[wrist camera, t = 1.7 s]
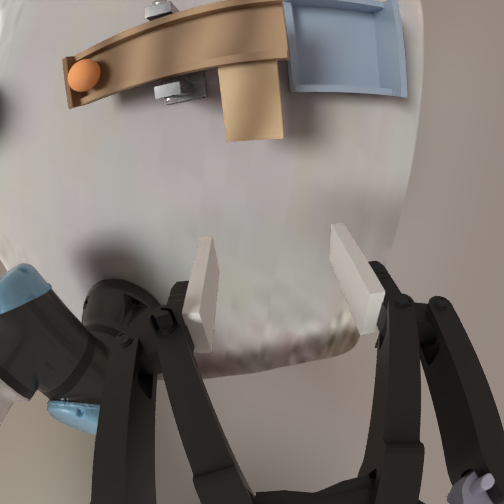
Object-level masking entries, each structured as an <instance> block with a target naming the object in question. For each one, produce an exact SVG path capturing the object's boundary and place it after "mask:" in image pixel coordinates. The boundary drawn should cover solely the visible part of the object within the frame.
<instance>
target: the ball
mask: <svg viewBox="0 0 504 504" xmlns="http://www.w3.org/2000/svg"><path fill="white" fill-rule="evenodd" d="M100 75H101V69H100V66H99V64H98V63H97V62H96V61H94V60H91V59H83V60H80V61H78V62H77V63H75V64H74V65H73V66H72V67H71V69H70V71H69V73H68V84H69V86H70V87H71V88H72V89H73V90H75V91H78V92H84V91H88V90H90V89H91V88H93V87H94V86H95V85H96V84H97V82H98V81H99V79H100Z"/></svg>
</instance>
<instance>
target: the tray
mask: <svg viewBox="0 0 504 504" xmlns="http://www.w3.org/2000/svg"><path fill="white" fill-rule="evenodd" d="M282 1H283V9H284V16H285V24H286V32H287V40H288V49H289V58H290V60H287V66H288V76H289V87H290V92H350V93H367V94H380V95H390V96H398V97H406V98H407V75H406V60H405V49H404V39H403V31H402V24H401V17H400V11H399V5H398V0H387V1H385V2H380V1H375V0H282Z"/></svg>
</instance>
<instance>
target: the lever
mask: <svg viewBox="0 0 504 504" xmlns="http://www.w3.org/2000/svg"><path fill="white" fill-rule="evenodd" d="M83 59H91V60H94V61H96V62H97V63H98V64H99V66H100V69H101V75H100V79H99V81H98V82H97V84H96V85H95V86H94V87H93V88H91V89H90V90H88V91H84V92H78V91H75V90H73V89H72V88H71V87H70V86H69V84H68V73H69V71H70V69H71V67H72V66H73V65H74V64H75V63H77V62H78V61H80V60H83ZM281 60H290V58H289V49H288V40H287V32H286V24H285V16H284V9H283V1H282V0H226V1H221V2H216V3H211V4H207V5H203V6H199V7H195V8H191V9H187V10H184V11H180V12H177V13H173V14H170V15H167V16H164V17H161V18H158V19H155V20H152V21H150V22H147V23H144V24H142V25H139V26H136V27H134V28H131V29H129V30H127V31H124V32H122V33H120V34H117V35H115V36H113V37H111V38H109V39H106V40H104V41H102V42H100V43H98V44H96V45H94V46H92V47H90V48H88V49H87V50H85V51H83V52H81V53H79V54H77V55H76V56H72V57H66V58H64V59H62V61H63V71H64V79H65V87H66V94H67V101H68V107H69V109H71V108H74V107H78V106H82V105H86V104H89V103H92V102H94V101H97V100H100V99H102V98H105V97H108V96H110V95H113V94H116V93H119V92H122V91H125V90H128V89H131V88H134V87H138V86H141V85H144V84H148V83H151V82H155V81H159V80H162V79H166V78H170V77H174V76H179V75H183V74H187V73H192V72H197V71H202V70H207V69H213V68H218V75H219V83H220V91H221V99H222V107H223V115H224V123H225V131H226V139H227V142H232V141H246V140H264V139H284V137H285V136H284V123H283V111H282V100H281V89H280V78H279V68H278V61H281Z"/></svg>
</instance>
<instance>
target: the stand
mask: <svg viewBox="0 0 504 504" xmlns="http://www.w3.org/2000/svg"><path fill="white" fill-rule="evenodd" d="M177 12H179V10H178V9H177V8H176V7H175V6H174V5H173V4H172V2H171V1H168V2H167V0H157V1H154V2H153V6H149V7H146V8H145V15H146V18H147V19H148V20H150V21H152V20H155V19H158V18H161V17H164V16H167V15H170V14H173V13H177ZM154 92H155V99H161V98H163V100H164V105H166V104H171V103H176V102H181V101H186V100H192V99H197V98H203V97H207V92H206V84H205V77H204V70H202V71H197V72H192V73H187V74H183V75H179V76H174V77H170V78H166V79H162V80H161V85H160V86H156V87H154Z"/></svg>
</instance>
